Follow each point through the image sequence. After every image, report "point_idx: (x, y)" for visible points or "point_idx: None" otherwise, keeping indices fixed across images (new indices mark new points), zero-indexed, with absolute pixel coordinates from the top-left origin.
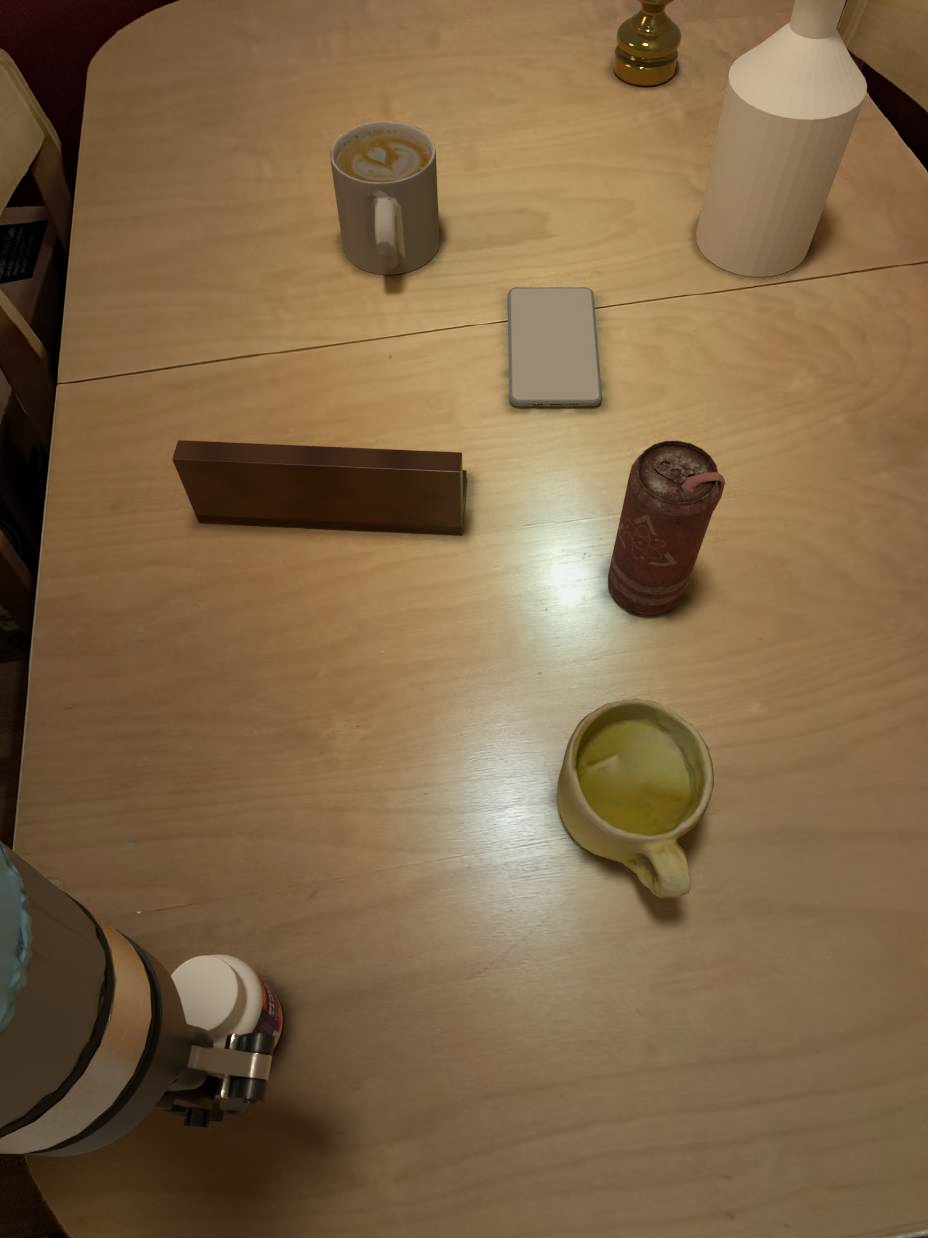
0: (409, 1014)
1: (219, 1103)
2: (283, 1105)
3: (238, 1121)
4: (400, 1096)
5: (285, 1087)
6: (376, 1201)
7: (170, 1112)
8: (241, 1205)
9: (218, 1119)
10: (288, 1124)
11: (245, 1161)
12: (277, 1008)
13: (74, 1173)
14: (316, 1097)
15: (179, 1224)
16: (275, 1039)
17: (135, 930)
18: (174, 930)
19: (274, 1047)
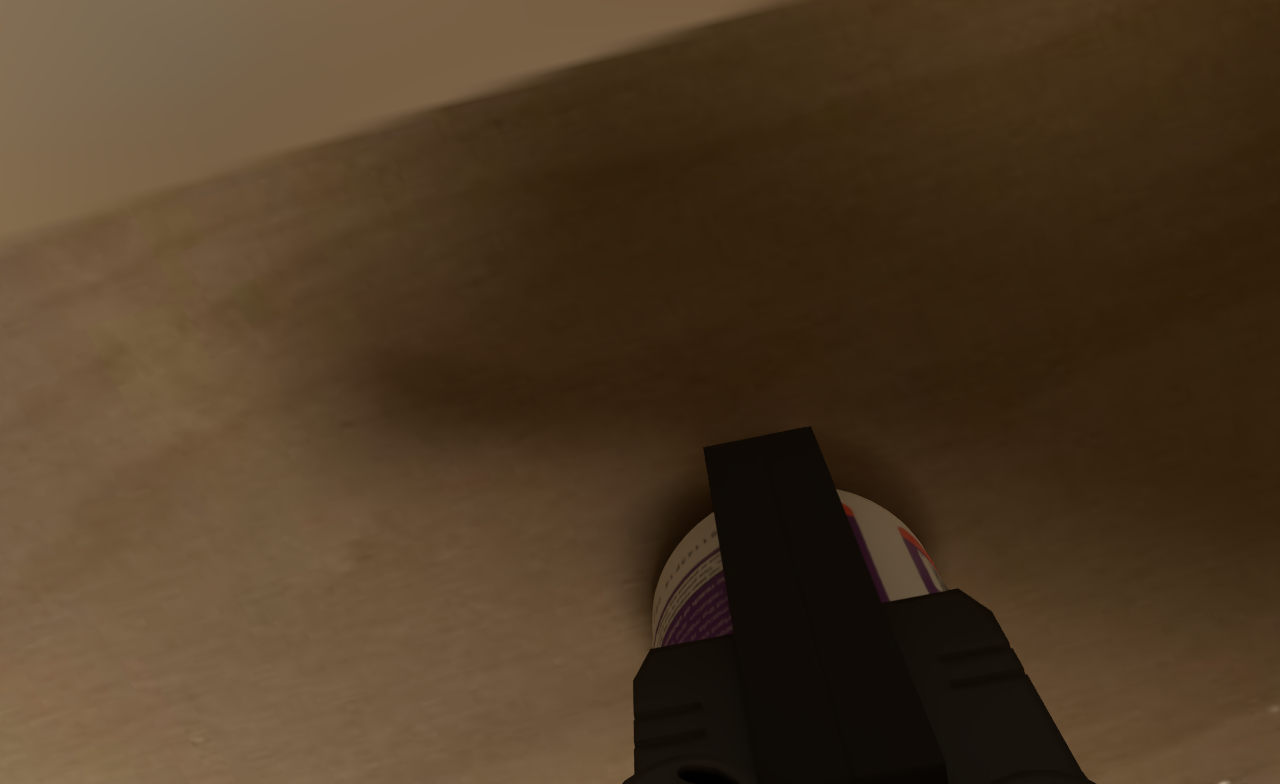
0: (298, 751)
1: (684, 661)
2: (567, 440)
3: (693, 360)
4: (221, 559)
5: (582, 487)
6: (151, 278)
7: (895, 661)
8: (583, 135)
9: (709, 481)
10: (528, 397)
11: (623, 260)
12: None
13: (1213, 51)
14: (473, 488)
15: (774, 14)
16: (653, 632)
17: (1220, 739)
18: (1094, 768)
19: (656, 589)
